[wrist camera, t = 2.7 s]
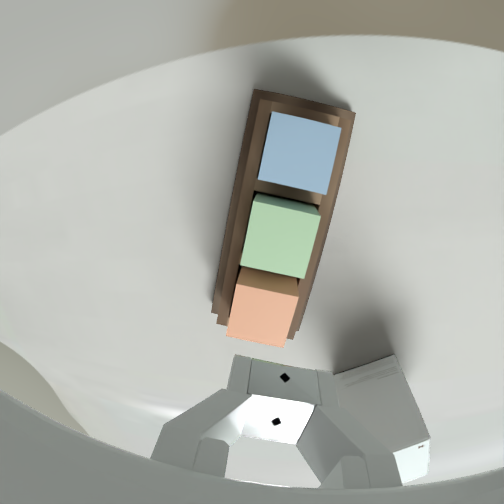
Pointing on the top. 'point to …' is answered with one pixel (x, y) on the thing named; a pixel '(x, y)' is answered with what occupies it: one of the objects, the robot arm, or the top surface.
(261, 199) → the sage block
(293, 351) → the top surface
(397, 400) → the supplement box
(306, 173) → the blue block
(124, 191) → the top surface
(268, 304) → the terracotta block
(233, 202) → the divided box
